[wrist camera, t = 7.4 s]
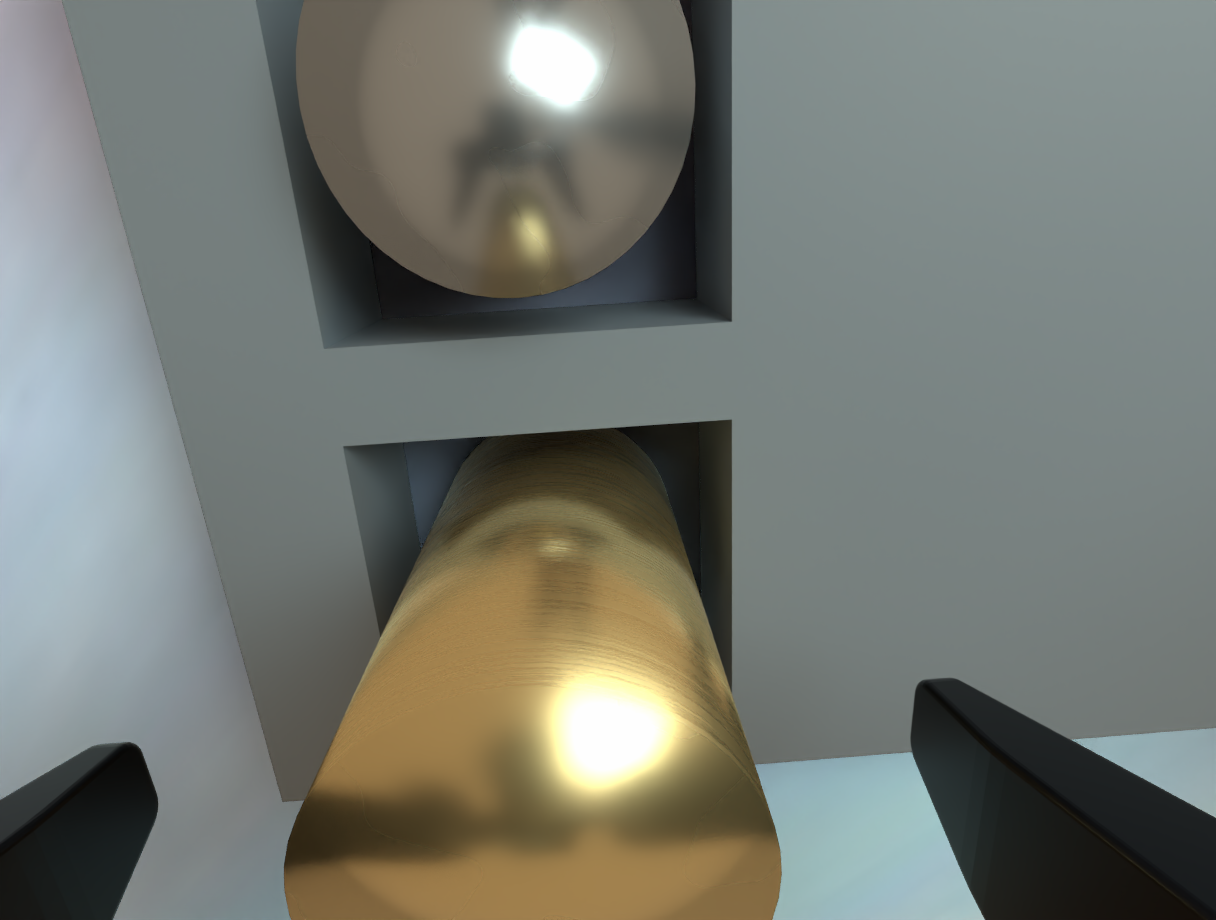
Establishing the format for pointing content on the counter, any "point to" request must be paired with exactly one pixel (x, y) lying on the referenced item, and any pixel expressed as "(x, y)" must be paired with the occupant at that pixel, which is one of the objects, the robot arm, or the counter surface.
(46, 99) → the counter surface
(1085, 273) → the jig
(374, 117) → the chrome sphere
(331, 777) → the brass cylinder
